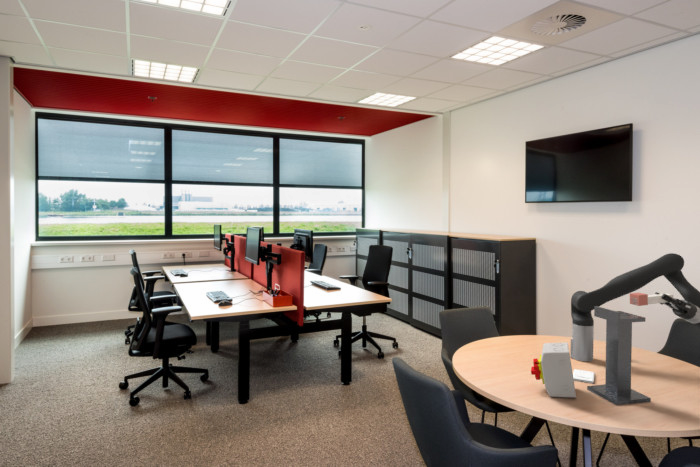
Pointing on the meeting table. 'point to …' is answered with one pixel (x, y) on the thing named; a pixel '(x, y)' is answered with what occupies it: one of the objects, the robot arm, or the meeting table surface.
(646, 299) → the white bar pink end
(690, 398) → the meeting table surface
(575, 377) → the external hard drive
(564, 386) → the electrical switch box
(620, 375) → the headphone stand
